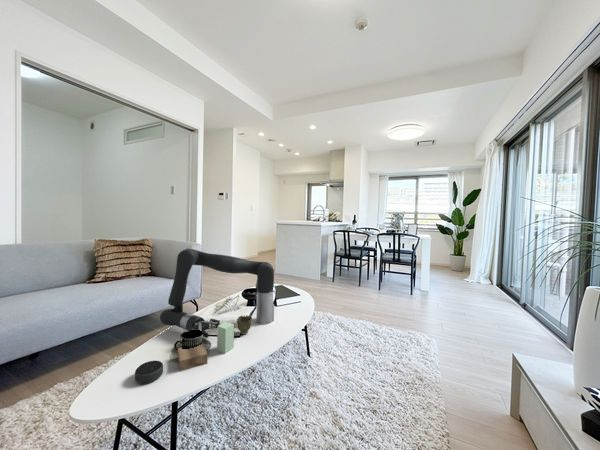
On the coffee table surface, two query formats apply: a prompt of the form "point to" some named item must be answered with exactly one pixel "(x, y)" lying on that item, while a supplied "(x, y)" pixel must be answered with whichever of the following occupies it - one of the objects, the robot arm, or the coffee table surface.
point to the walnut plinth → (192, 357)
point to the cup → (244, 324)
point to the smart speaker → (148, 372)
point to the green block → (225, 337)
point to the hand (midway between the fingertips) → (215, 331)
